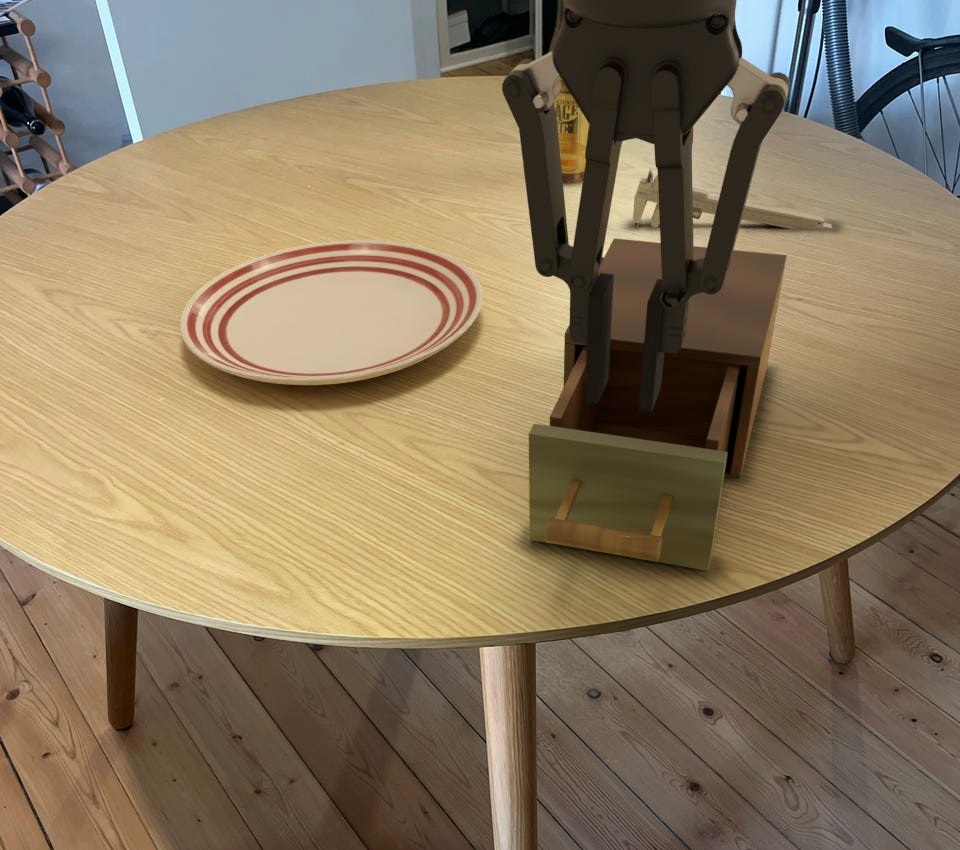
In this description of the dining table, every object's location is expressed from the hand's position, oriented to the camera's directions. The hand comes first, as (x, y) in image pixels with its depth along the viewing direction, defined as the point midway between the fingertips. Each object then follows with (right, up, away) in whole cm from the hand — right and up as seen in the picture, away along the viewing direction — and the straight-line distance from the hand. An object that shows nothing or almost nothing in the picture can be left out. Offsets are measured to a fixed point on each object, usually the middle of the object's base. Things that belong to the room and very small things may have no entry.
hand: (623, 393), depth 59 cm
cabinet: (+7, +4, +24) cm, 25 cm away
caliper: (+18, +28, +47) cm, 58 cm away
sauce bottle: (+2, +39, +58) cm, 70 cm away
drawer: (+2, -5, +14) cm, 15 cm away
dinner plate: (-22, +14, +36) cm, 44 cm away
